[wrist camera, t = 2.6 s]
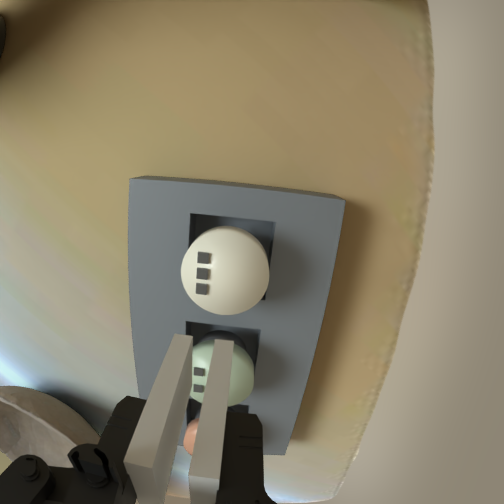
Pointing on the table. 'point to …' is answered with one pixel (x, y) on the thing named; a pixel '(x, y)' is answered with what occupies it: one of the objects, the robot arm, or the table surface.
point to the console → (248, 322)
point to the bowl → (40, 426)
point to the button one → (194, 431)
